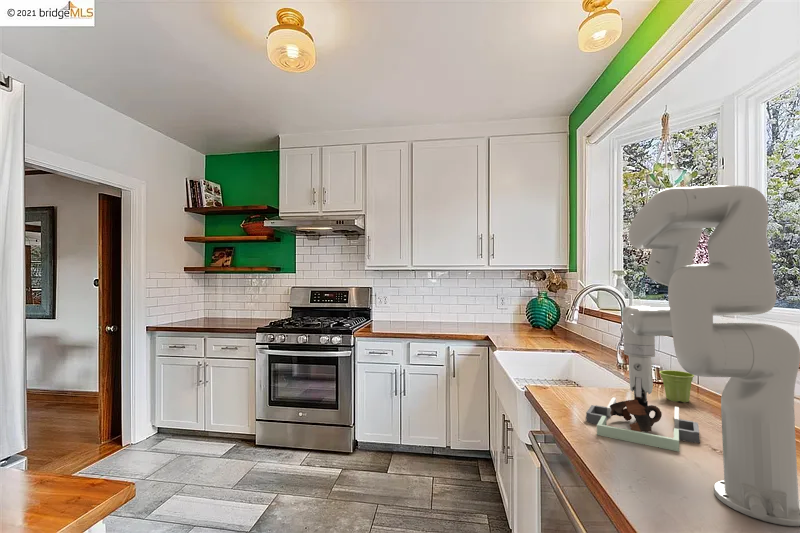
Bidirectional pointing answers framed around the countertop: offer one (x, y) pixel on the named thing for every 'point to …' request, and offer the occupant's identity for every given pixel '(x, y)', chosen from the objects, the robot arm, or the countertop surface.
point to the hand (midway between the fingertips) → (641, 415)
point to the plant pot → (677, 385)
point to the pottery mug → (637, 414)
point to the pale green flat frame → (682, 431)
